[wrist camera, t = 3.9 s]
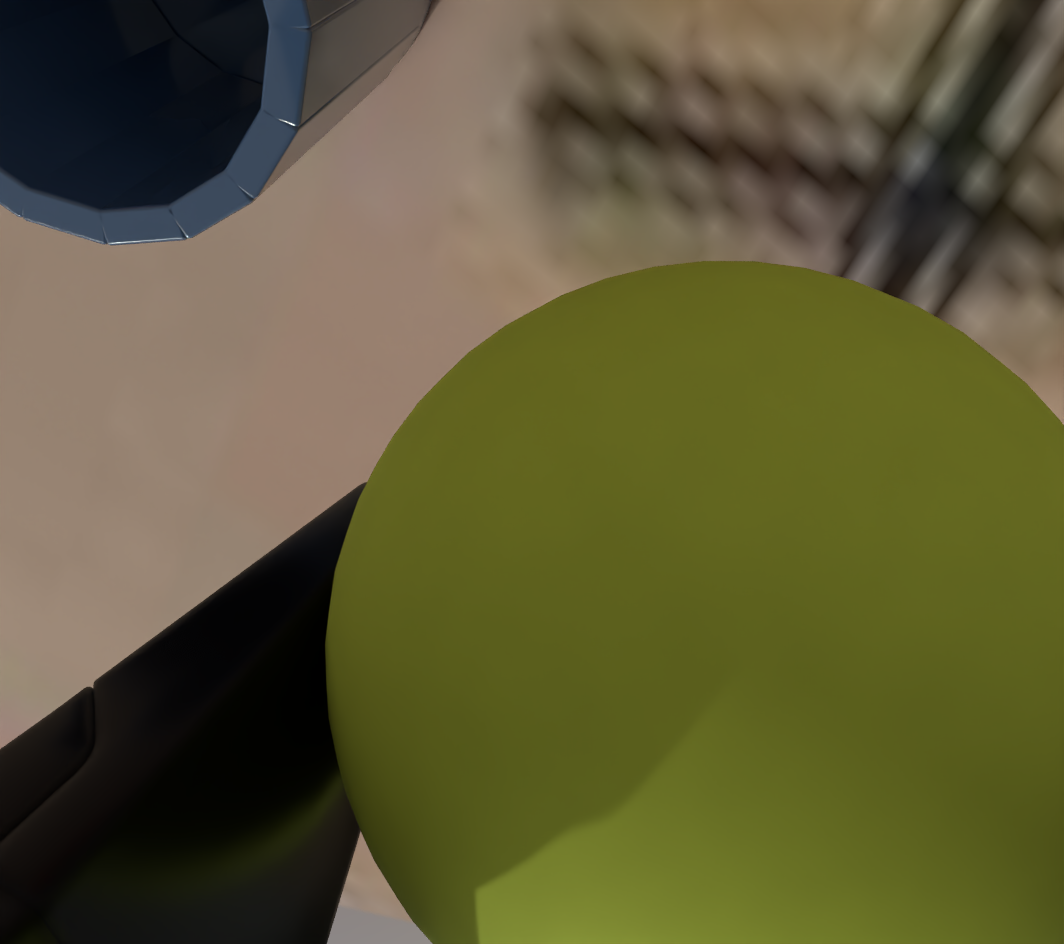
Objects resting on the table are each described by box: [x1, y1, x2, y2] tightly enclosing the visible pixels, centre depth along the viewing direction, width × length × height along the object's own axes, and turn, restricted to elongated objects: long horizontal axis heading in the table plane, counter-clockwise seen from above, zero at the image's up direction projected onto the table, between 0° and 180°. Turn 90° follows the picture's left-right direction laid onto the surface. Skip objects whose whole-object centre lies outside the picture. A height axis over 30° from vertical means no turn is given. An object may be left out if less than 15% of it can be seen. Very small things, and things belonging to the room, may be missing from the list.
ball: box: [325, 261, 1064, 944], centre depth 8 cm, size 6×6×6 cm
